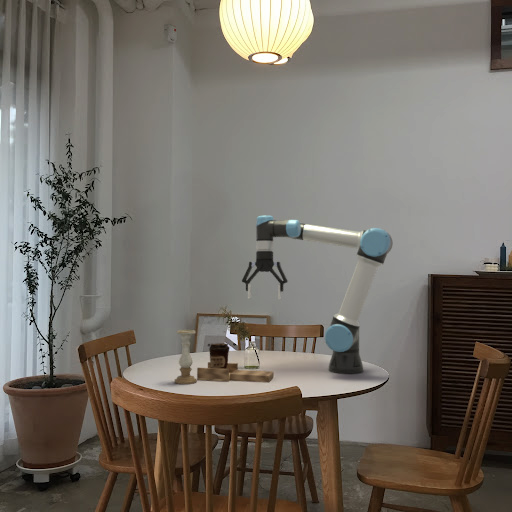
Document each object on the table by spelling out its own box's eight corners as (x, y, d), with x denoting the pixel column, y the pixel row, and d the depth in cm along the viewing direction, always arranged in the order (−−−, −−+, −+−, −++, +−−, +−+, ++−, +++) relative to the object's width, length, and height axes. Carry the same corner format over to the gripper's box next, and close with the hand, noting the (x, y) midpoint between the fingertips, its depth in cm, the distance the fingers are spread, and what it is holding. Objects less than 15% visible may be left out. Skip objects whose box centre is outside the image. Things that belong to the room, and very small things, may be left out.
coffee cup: (226, 377, 234) (226, 345, 234) (206, 376, 236) (206, 344, 236) (231, 373, 243) (231, 342, 243) (212, 373, 244) (212, 342, 244)
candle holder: (176, 384, 223) (176, 332, 224) (172, 380, 232) (173, 329, 232) (198, 383, 226) (198, 331, 226) (194, 379, 234) (194, 329, 234)
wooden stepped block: (274, 376, 241) (274, 365, 242) (267, 383, 227) (267, 371, 227) (208, 373, 248) (208, 362, 248) (197, 379, 233) (197, 367, 233)
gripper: (293, 251, 256) (293, 298, 256) (239, 251, 262) (239, 297, 261) (291, 250, 249) (291, 299, 248) (235, 250, 254) (235, 298, 254)
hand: (264, 298), depth 255 cm, fingers open, 13 cm apart
